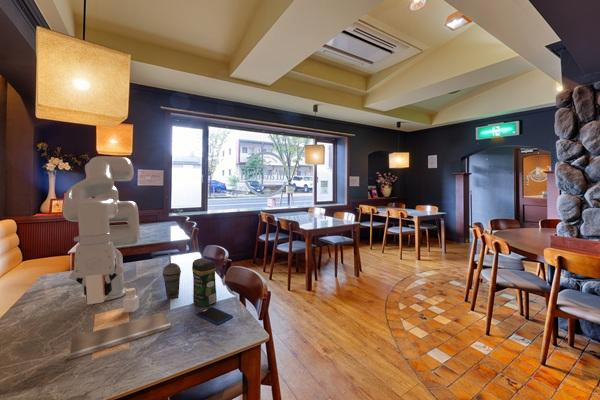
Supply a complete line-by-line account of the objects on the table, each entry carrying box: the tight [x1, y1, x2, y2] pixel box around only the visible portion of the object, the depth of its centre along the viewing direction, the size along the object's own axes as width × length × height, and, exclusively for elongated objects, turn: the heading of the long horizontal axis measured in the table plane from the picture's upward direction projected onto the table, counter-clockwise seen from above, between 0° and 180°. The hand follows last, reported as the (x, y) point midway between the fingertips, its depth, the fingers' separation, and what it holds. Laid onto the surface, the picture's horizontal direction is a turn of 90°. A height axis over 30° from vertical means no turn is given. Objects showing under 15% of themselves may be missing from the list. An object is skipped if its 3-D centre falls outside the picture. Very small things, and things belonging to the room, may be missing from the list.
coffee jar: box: [191, 257, 218, 308], centre depth 109 cm, size 10×8×19 cm
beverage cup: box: [162, 253, 182, 301], centre depth 113 cm, size 7×7×20 cm
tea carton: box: [86, 274, 109, 305], centre depth 83 cm, size 4×6×9 cm
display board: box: [68, 312, 172, 360], centre depth 85 cm, size 26×13×2 cm, turn 128°
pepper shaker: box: [122, 287, 140, 313], centre depth 100 cm, size 4×4×10 cm
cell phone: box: [195, 306, 234, 326], centre depth 98 cm, size 7×14×1 cm, turn 55°
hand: (98, 294), depth 83 cm, fingers closed on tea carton, 4 cm apart
